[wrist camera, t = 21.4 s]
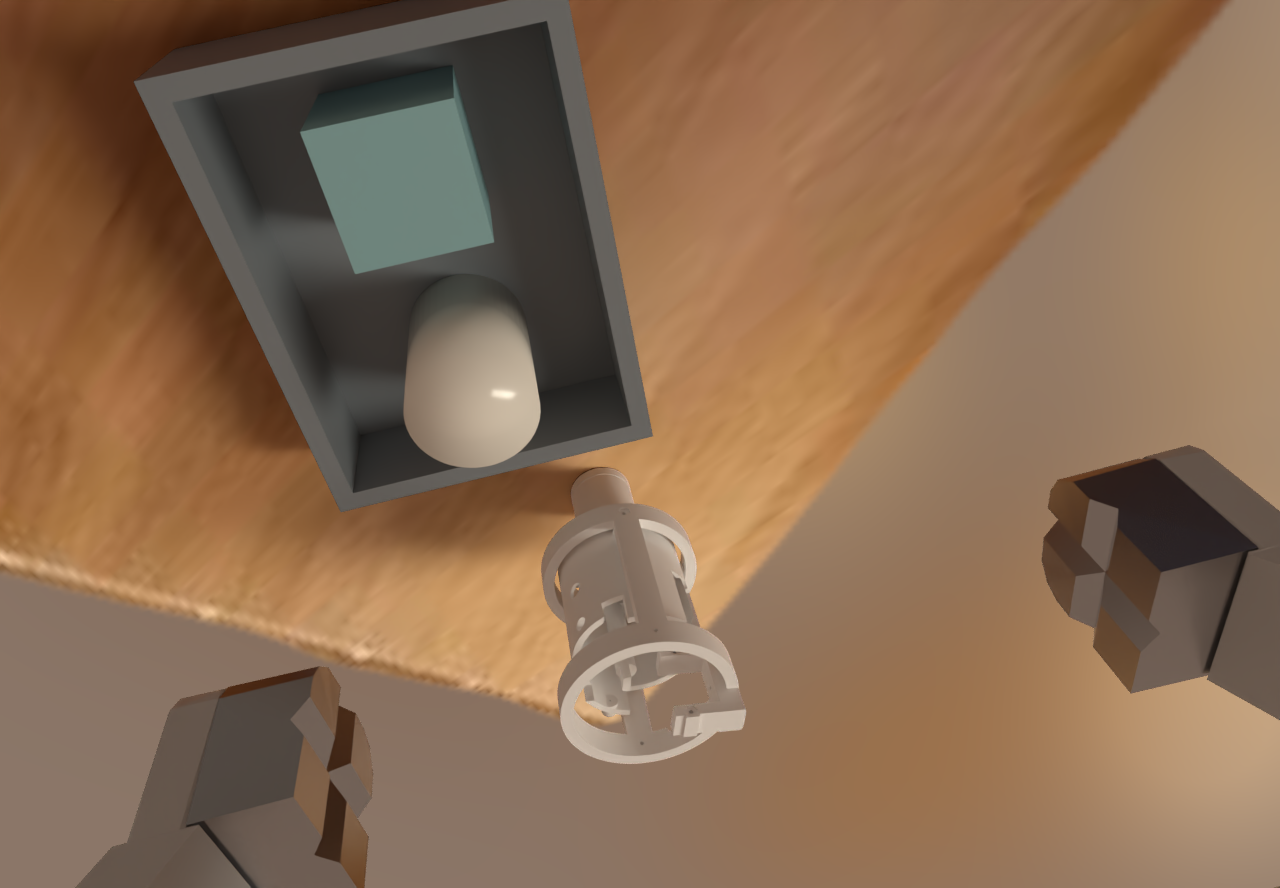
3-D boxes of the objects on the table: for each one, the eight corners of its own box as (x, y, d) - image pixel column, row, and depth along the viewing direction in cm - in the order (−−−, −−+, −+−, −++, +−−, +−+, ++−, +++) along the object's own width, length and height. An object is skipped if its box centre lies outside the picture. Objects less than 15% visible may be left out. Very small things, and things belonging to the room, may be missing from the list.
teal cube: (365, 223, 35) (355, 274, 31) (318, 94, 32) (299, 132, 28) (488, 195, 35) (494, 242, 31) (452, 65, 32) (453, 97, 28)
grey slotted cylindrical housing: (660, 540, 48) (733, 778, 36) (530, 547, 47) (561, 797, 35) (673, 432, 44) (760, 658, 32) (532, 437, 43) (566, 674, 31)
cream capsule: (393, 289, 37) (384, 372, 31) (510, 262, 37) (522, 339, 31) (429, 388, 40) (427, 481, 34) (538, 362, 40) (553, 450, 34)
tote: (173, 49, 31) (133, 81, 27) (550, -32, 32) (566, -12, 28) (351, 445, 41) (341, 512, 37) (632, 378, 42) (652, 436, 38)
